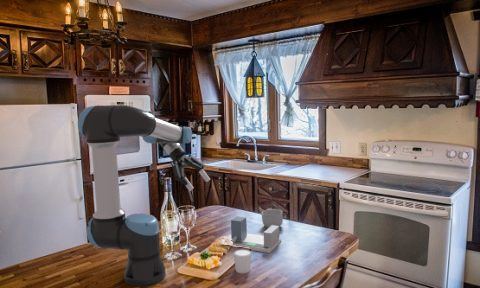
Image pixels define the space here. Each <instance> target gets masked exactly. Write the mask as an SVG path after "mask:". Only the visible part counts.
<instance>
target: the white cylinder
mask: <svg viewBox="0 0 480 288" xmlns="http://www.w3.org/2000/svg"><path fill="white" fill-rule="evenodd" d="M251 251H252V250H249V249H243V248H240V249H237V250H235V251H233V259H234V266H235V267H234V269H235V271H236V272H237V273H238V274H247V273H249V272H250V271H251V261H252V252H251Z"/></svg>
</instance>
